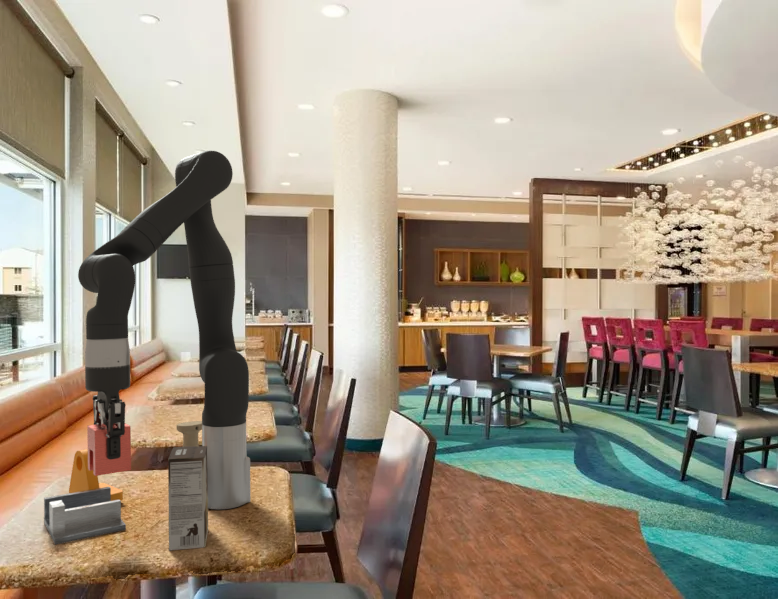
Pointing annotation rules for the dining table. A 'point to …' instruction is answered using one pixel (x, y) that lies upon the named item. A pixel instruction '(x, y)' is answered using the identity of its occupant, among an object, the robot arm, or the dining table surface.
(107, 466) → the block
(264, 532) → the dining table surface
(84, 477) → the bracket
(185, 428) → the handle
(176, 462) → the coffee box
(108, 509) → the bracket
